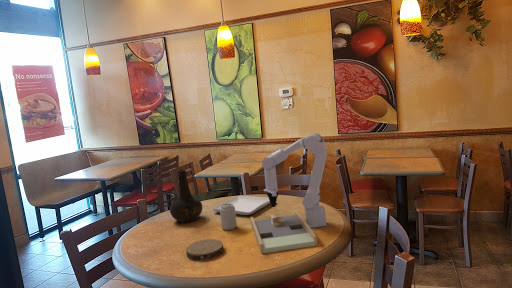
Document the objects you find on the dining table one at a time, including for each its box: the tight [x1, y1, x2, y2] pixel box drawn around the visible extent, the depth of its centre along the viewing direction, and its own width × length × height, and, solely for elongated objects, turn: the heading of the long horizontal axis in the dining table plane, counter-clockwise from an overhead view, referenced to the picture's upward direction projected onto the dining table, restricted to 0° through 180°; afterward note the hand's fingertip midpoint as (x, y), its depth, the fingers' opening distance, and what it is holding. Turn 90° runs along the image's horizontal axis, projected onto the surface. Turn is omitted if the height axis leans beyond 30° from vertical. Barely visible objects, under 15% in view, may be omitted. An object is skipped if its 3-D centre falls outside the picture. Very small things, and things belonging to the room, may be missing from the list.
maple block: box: [270, 213, 284, 226], centre depth 186 cm, size 5×5×4 cm
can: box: [219, 204, 238, 231], centre depth 192 cm, size 8×8×12 cm
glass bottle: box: [169, 169, 203, 223], centre depth 211 cm, size 18×18×28 cm
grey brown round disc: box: [185, 238, 225, 261], centre depth 166 cm, size 16×16×3 cm
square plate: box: [211, 195, 270, 216], centre depth 223 cm, size 27×27×4 cm
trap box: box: [249, 210, 318, 254], centre depth 177 cm, size 24×36×4 cm, turn 7°
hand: (273, 206), depth 193 cm, fingers closed
